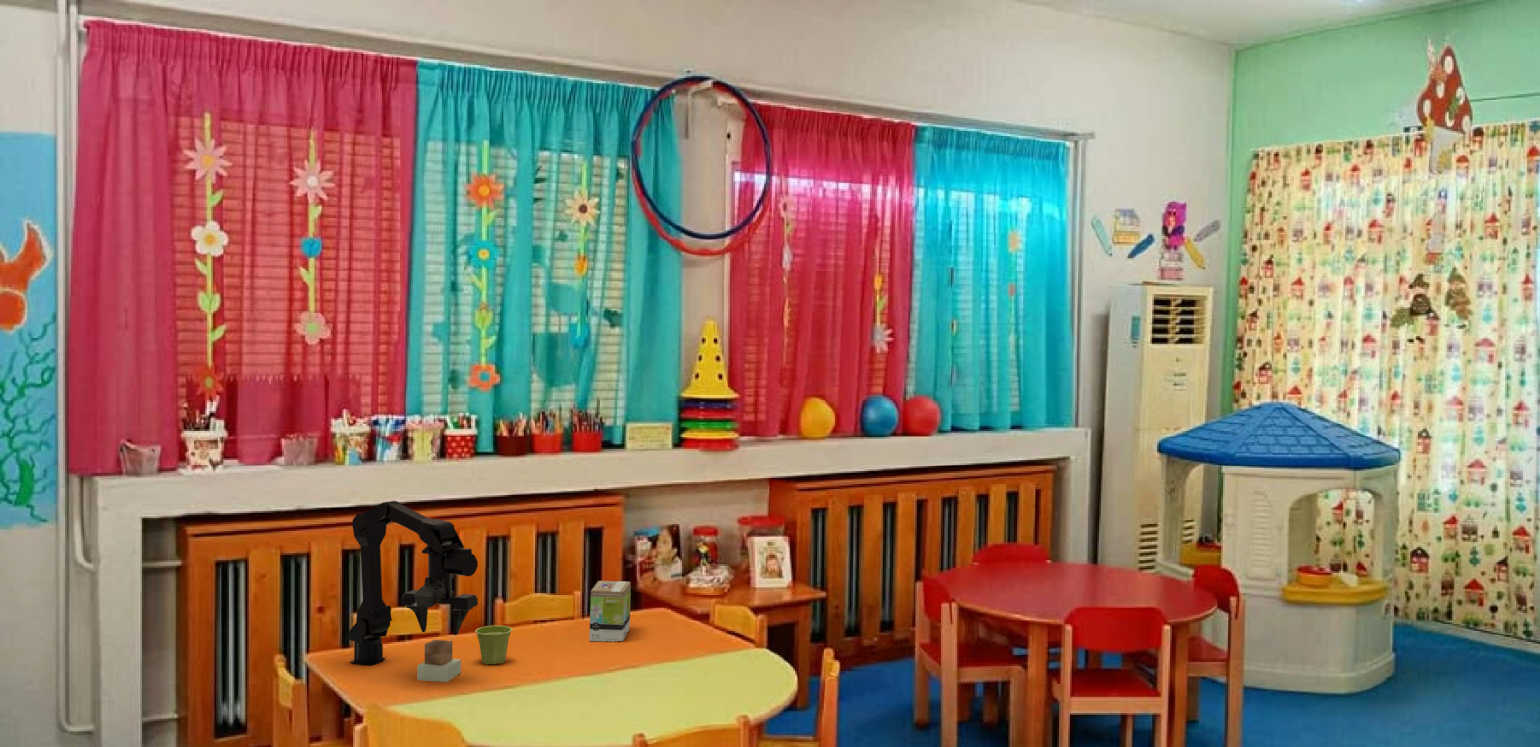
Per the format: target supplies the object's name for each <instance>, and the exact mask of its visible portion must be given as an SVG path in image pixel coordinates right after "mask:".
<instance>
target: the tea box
mask: <svg viewBox="0 0 1540 747" xmlns="http://www.w3.org/2000/svg"><path fill="white" fill-rule="evenodd" d="M631 584H632V583H631V581H621V580H619V581H618V580H617V581H616V580H614V581H613V580H597V582H596V583H595V584H594V586H593V587H592V589H590V609H589V610H590V612H589V635H588V636H589V639H588V640H589V641H590V642H606V641H608V642H609V641H610V643H611V642H612V643H614V642H615V641H616V642H615V643H618V642H617V641H622V642H623V641H624V640H625V638H626V636H627V635H628V633H629V630H630V625H631V620H630V619H631V589H632V588H631ZM627 632H628V633H627Z"/></svg>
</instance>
